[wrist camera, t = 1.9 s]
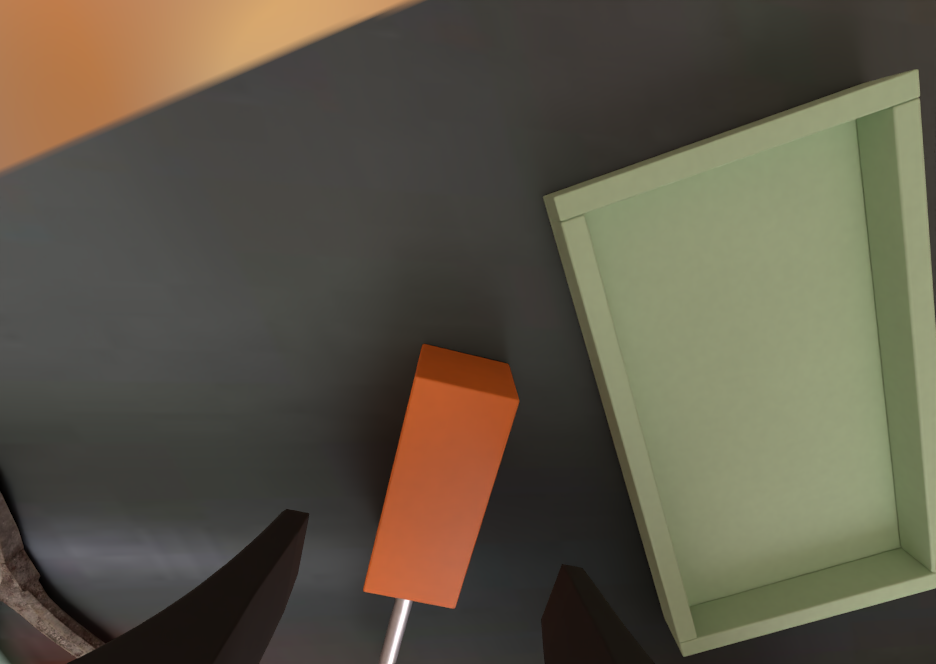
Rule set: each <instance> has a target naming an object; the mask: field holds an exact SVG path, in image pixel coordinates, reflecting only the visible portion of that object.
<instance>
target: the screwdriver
mask: <svg viewBox="0 0 936 664" xmlns="http://www.w3.org/2000/svg"><path fill="white" fill-rule="evenodd" d="M518 405H519V397H518V394H517V391H516V387H515V384H514V380H513V377H512V373H511V370H510V366H509V364H507V363H503V362H499V361H495V360H490V359H486V358H482V357H478V356H473V355H469V354H465V353H461V352H457V351H452V350H448V349H444V348H440V347H436V346H431V345H427V344H423V345H422V348H421V352H420V356H419V360H418V364H417V368H416V373H415V377H414V381H413V385H412V389H411V393H410V397H409V401H408V406H407V410H406V414H405V418H404V422H403V426H402V430H401V435H400V439H399V443H398V447H397V451H396V455H395V459H394V463H393V468H392V472H391V476H390V480H389V484H388V488H387V492H386V496H385V501H384V505H383V509H382V513H381V517H380V521H379V525H378V529H377V534H376V538H375V542H374V546H373V550H372V555H371V559H370V563H369V567H368V571H367V575H366V580H365V584H364V588H363V590H364V592H368V593H374V594H379V595H384V596H389V597H395V598H396V599H395V602H394V606H393V610H392V614H391V617H390V621H389V625H388V629H387V632H386V636H385V640H384V644H383V647H382V651H381V655H380V659H379V662H378V664H395V663H396V660H397V656H398V652H399V649H400V645H401V642H402V638H403V635H404V631H405V627H406V624H407V620H408V617H409V613H410V610H411V606H412V602H413V601H416V602H421V603H426V604H432V605H437V606H442V607H447V608H453V609H454V608H455V607H456V604H457V601H458V597H459V594H460V591H461V588H462V585H463V581H464V578H465V575H466V572H467V568H468V565H469V562H470V559H471V556H472V552H473V549H474V546H475V543H476V540H477V536H478V533H479V530H480V527H481V523H482V520H483V517H484V514H485V511H486V507H487V504H488V501H489V498H490V495H491V491H492V488H493V485H494V482H495V478H496V475H497V472H498V469H499V466H500V462H501V459H502V456H503V453H504V450H505V446H506V443H507V440H508V437H509V433H510V430H511V427H512V424H513V421H514V417H515V414H516V411H517V408H518Z"/></svg>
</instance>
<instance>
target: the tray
mask: <svg viewBox="0 0 936 664" xmlns="http://www.w3.org/2000/svg"><path fill="white" fill-rule="evenodd" d="M919 96H920V86H919V72H918V69H915V70H911V71H907V72H903V73H900V74H896V75H892V76H888V77H885V78H881V79H877V80H873V81H870V82H866V83H862V84H860V85H857V86H854V87H851V88H848V89H845V90H843V91H840V92H837V93H834V94H831V95H828V96H826V97H823V98H820V99H817V100H814V101H811V102H809V103H806V104H803V105H800V106H797V107H794V108H792V109H789V110H786V111H783V112H780V113H777V114H775V115H772V116H769V117H766V118H763V119H760V120H758V121H755V122H752V123H749V124H746V125H743V126H741V127H738V128H735V129H732V130H729V131H726V132H724V133H721V134H718V135H715V136H712V137H709V138H707V139H704V140H701V141H698V142H695V143H692V144H690V145H687V146H684V147H681V148H678V149H675V150H673V151H670V152H667V153H664V154H661V155H659V156H656V157H653V158H650V159H647V160H644V161H642V162H639V163H636V164H633V165H630V166H627V167H625V168H622V169H619V170H616V171H613V172H610V173H608V174H605V175H602V176H599V177H596V178H593V179H591V180H588V181H585V182H582V183H579V184H576V185H574V186H571V187H568V188H565V189H562V190H559V191H557V192H554V193H551V194H548V195H545V196H543V199H544V203H545V206H546V210H547V213H548V217H549V220H550V223H551V227H552V230H553V234H554V237H555V241H556V244H557V248H558V251H559V255H560V258H561V262H562V265H563V269H564V272H565V275H566V279H567V282H568V286H569V289H570V293H571V296H572V300H573V303H574V307H575V310H576V314H577V317H578V321H579V324H580V328H581V331H582V334H583V338H584V341H585V345H586V348H587V352H588V355H589V359H590V362H591V366H592V369H593V373H594V376H595V380H596V383H597V386H598V390H599V393H600V397H601V400H602V404H603V407H604V411H605V414H606V418H607V421H608V425H609V428H610V432H611V435H612V439H613V442H614V445H615V449H616V452H617V456H618V459H619V463H620V466H621V470H622V473H623V477H624V480H625V484H626V487H627V491H628V494H629V497H630V501H631V504H632V508H633V511H634V515H635V518H636V522H637V525H638V529H639V532H640V536H641V539H642V543H643V546H644V550H645V553H646V556H647V560H648V563H649V567H650V570H651V574H652V577H653V581H654V584H655V588H656V591H657V595H658V598H659V602H660V605H661V608H662V612H663V615H664V618H665V620H666V622H667V624H668V626H669V629H670V631H671V633H672V635H673V637H674V639H675V641H676V643H677V645H678V647H679V649H680V651H681V653H682V655H683V657H685V656H689V655H692V654H696V653H700V652H703V651H707V650H711V649H714V648H718V647H722V646H725V645H729V644H733V643H736V642H740V641H744V640H747V639H751V638H755V637H758V636H762V635H766V634H769V633H773V632H777V631H780V630H784V629H788V628H791V627H795V626H799V625H802V624H806V623H810V622H813V621H817V620H821V619H824V618H828V617H832V616H835V615H839V614H843V613H846V612H850V611H854V610H857V609H861V608H865V607H868V606H872V605H876V604H879V603H883V602H887V601H890V600H894V599H897V598H901V597H905V596H908V595H912V594H916V593H919V592H923V591H927V590H930V589H934V588H936V326H935V311H934V297H933V282H932V268H931V253H930V239H929V224H928V210H927V195H926V181H925V166H924V152H923V137H922V122H921V108H920V99H919V98H918V97H919Z"/></svg>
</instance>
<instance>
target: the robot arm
mask: <svg viewBox="0 0 936 664" xmlns="http://www.w3.org/2000/svg"><path fill="white" fill-rule="evenodd" d="M308 518H309V513H304V512H299V511H294V510H289V509H286V510H284V511H283V512H281V514H280V515H279V516H278V517H277V518H276V519H275V520H274V521H273V522H272V523H271V524H270V525H269V526H268V527H267V528H266V529H265V530H264V531H263V532H262V533H261V534H260V535H259V536H258V537H256V538H255V539H254V540H253V541H252V542H251V543H250V544H249V545H248V546H246V547H245V548H244V549H243V550H242V551H241V552H240V553H239V554H237V555H236V556H235V557H234V558H233V559H232V560H230V561H229V562H228V563H227V564H226V565H224V566H223V567H222V568H221V569H219V570H218V571H217V572H215V573H214V574H213V575H212V576H210V577H209V578H208V579H207V580H205V581H204V582H203V583H201V584H200V585H199V586H197V587H196V588H195V589H193V590H192V591H190V592H189V593H188V594H186V595H185V596H183V597H182V598H181V599H179V600H178V601H176V602H175V603H173V604H172V605H170V606H169V607H167V608H166V609H164V610H163V611H161V612H159V613H158V614H156V615H154V616H153V617H151V618H150V619H148V620H146V621H145V622H143V623H142V624H140V625H138V626H137V627H135V628H133V629H132V630H130V631H128V632H126V633H125V634H123V635H121V636H119V637H117V638H116V639H114V640H112V641H110V642H108V643H106V644H104V645H102V646H100V647H98V648H96V649H95V650H93V651H91V652H89V653H87V654H85V655H83V656H81V657H79V658H77V659H75V660H73V661H71V662H69V663H67V664H259V662H260V660H261V658H262V656H263V654H264V652H265V650H266V648H267V646H268V644H269V642H270V640H271V638H272V636H273V633H274V631H275V629H276V627H277V625H278V623H279V621H280V619H281V617H282V615H283V613H284V610H285V607H286V605H287V602H288V599H289V597H290V594H291V591H292V588H293V586H294V583H295V580H296V577H297V575H298V570H299V565H300V560H301V555H302V549H303V544H304V539H305V534H306V529H307V524H308ZM541 624H542V638H543V649H544V659H545V664H655V663H654V662H653V661H652V660H651V659H650V657H649V656H648V655H647V654H646V653H645V651H644V650H643V649H642V648H641V646H640V645H639V644H638V643H637V641H636V640H635V639H634V637H633V636H632V635H631V634H630V632H629V631H628V630H627V628H626V627H625V626H624V624H623V623H622V622H621V620H620V619H619V618H618V616H617V615H616V613H615V612H614V611H613V609H612V608H611V607H610V605H609V604H608V602H607V601H606V600H605V598H604V597H603V595H602V594H601V593H600V591H599V590H598V588H597V587H596V586H595V584H594V583H593V581H592V580H591V579H590V577H589V576H588V575H587V573H586V572H585V571H584V569H583V568H580V567H575V566H570V565H565V564H562V566H561V568H560V571H559V574H558V576H557V579H556V582H555V584H554V587H553V590H552V592H551V595H550V598H549V600H548V603H547V606H546V608H545V611H544V614H543V616H542V619H541Z"/></svg>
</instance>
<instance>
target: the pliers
mask: <svg viewBox="0 0 936 664" xmlns="http://www.w3.org/2000/svg"><path fill="white" fill-rule="evenodd" d="M23 548H24V546H23V543H22V540H21V536H20V533H19V530H18V527H17V525H16V523H15V521H14V519H13V517H12V515H11V513H10V511H9V509H8V507H7V504H6V502H5V500H4V498H3V496H2V494H1V492H0V601H3V602H4V603H5V604H7V605H8V606H9V607H11V608H12V609H14V610H15V611H16V612H18V613H19V614H20V615H21V616H23V617H24V618H25V619H26V620H27V621H28V622H30V623H31V624H32V625H33V626H34V627H35V628H37V629H38V630H39V631H40V632H42V633H43V634H44V635H46V636H47V637H48V638H50V639H51V640H52V641H54V642H55V643H56V644H58V645H59V646H61V647H62V648H64V649H65V650H66V651H68V652H69V653H71V654H72V655H74V656H75V657H77V658H79V657H81V656H83V655H85V654H87V653H89V652H91V651H93V650H95V649H96V648H98V647H100V646H102V645H104V644H105V643H104V642H103V641H101V640H100V639H99V638H97V637H96V636H95V635H93V634H92V633H91V632H89V631H88V630H87V629H85V628H84V627H83V626H82V625H80V624H79V623H78V622H76V621H75V620H74V619H73V618H72V617H70V616H69V615H68V614H67V613H66V612H64V611H63V610H62V609H61V608H60V607H59V606H58V605H57V604H56V603H55V602H54V601H53V600H51V599H50V598H49V597H48V595H47V594H46V592H45V590H44V589H43V587H42V586H41V584H40V582H39V581H38V580H39V577H40V574H39V573H38V571H37V569H36V568H35V566H34V565H33V563H32V562H31V560H30V559H29V557H28V555H27V554H26V552H25V551H24V549H23Z"/></svg>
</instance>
